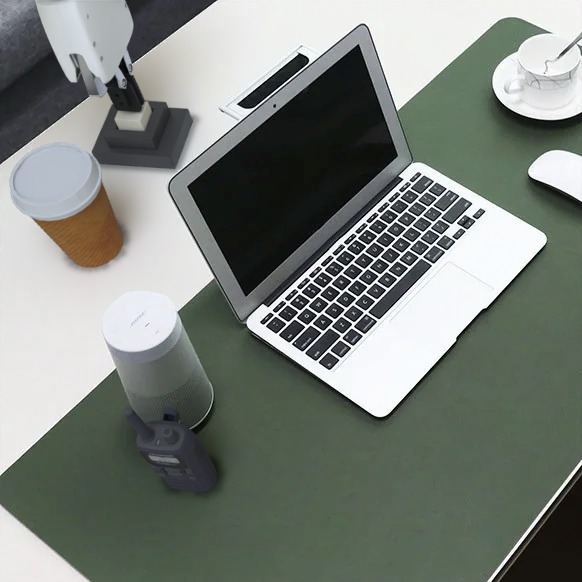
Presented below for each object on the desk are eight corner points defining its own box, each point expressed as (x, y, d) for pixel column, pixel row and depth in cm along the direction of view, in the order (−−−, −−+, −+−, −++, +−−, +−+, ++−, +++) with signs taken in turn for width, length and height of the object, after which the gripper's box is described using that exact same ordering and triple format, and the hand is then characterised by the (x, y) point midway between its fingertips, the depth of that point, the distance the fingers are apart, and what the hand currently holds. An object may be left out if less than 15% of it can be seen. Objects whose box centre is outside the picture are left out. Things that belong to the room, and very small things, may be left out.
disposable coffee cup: (131, 278, 93) (88, 206, 83) (48, 282, 94) (-5, 211, 83) (142, 212, 98) (103, 135, 87) (63, 216, 98) (15, 141, 88)
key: (119, 130, 99) (114, 119, 98) (127, 111, 101) (122, 99, 99) (145, 132, 99) (139, 120, 97) (152, 112, 100) (147, 101, 99)
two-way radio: (162, 490, 81) (102, 422, 68) (174, 449, 83) (118, 375, 70) (217, 496, 80) (166, 429, 67) (227, 454, 82) (181, 381, 69)
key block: (98, 165, 102) (84, 141, 98) (118, 117, 106) (106, 92, 102) (175, 170, 101) (165, 146, 97) (193, 121, 104) (183, 96, 101)
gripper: (53, -86, 86) (120, 60, 102) (-1, 12, 79) (80, 152, 95) (121, -85, 85) (178, 63, 101) (73, 15, 78) (142, 156, 94)
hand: (130, 106), depth 98 cm, fingers closed
